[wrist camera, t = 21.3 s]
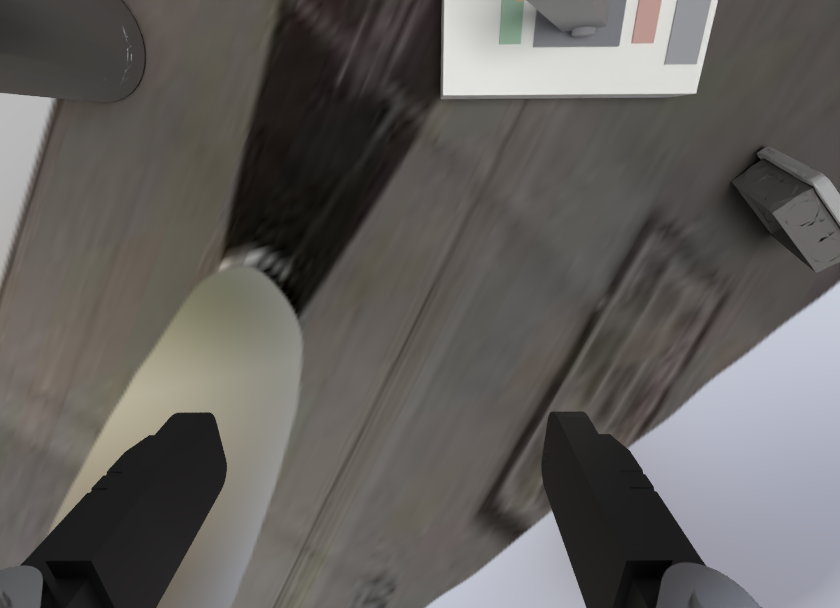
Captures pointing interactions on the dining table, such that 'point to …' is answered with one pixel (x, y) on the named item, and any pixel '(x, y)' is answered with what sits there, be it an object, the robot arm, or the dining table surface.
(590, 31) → the lever
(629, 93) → the panel
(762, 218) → the electrical switch
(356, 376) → the dining table surface
